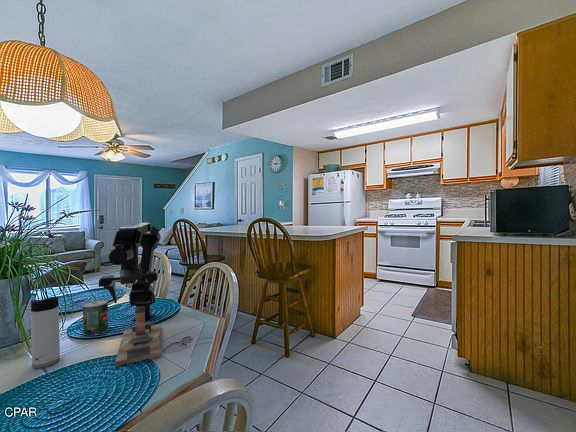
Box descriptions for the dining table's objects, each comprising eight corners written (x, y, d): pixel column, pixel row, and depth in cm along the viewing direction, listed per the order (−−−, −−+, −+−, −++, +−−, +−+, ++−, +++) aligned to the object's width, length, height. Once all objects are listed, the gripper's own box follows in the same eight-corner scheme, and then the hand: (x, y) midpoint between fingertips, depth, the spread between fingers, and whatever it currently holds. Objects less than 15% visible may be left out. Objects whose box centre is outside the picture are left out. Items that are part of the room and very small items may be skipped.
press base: (124, 333, 99) (124, 323, 99) (159, 327, 104) (159, 317, 104) (115, 367, 78) (115, 354, 78) (160, 356, 83) (160, 344, 83)
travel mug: (36, 371, 76) (34, 302, 76) (29, 364, 79) (27, 298, 79) (63, 360, 81) (62, 296, 81) (55, 354, 85) (54, 292, 84)
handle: (132, 337, 91) (132, 306, 91) (149, 334, 93) (148, 304, 93) (131, 343, 87) (130, 311, 87) (148, 340, 89) (148, 308, 89)
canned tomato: (111, 331, 102) (110, 302, 101) (85, 338, 96) (85, 308, 96) (105, 325, 107) (104, 298, 107) (80, 331, 101) (80, 303, 101)
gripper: (95, 266, 88) (95, 312, 89) (157, 261, 97) (157, 303, 97) (101, 260, 98) (102, 302, 99) (157, 256, 107) (157, 295, 107)
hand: (130, 301), depth 100 cm, fingers open, 9 cm apart
